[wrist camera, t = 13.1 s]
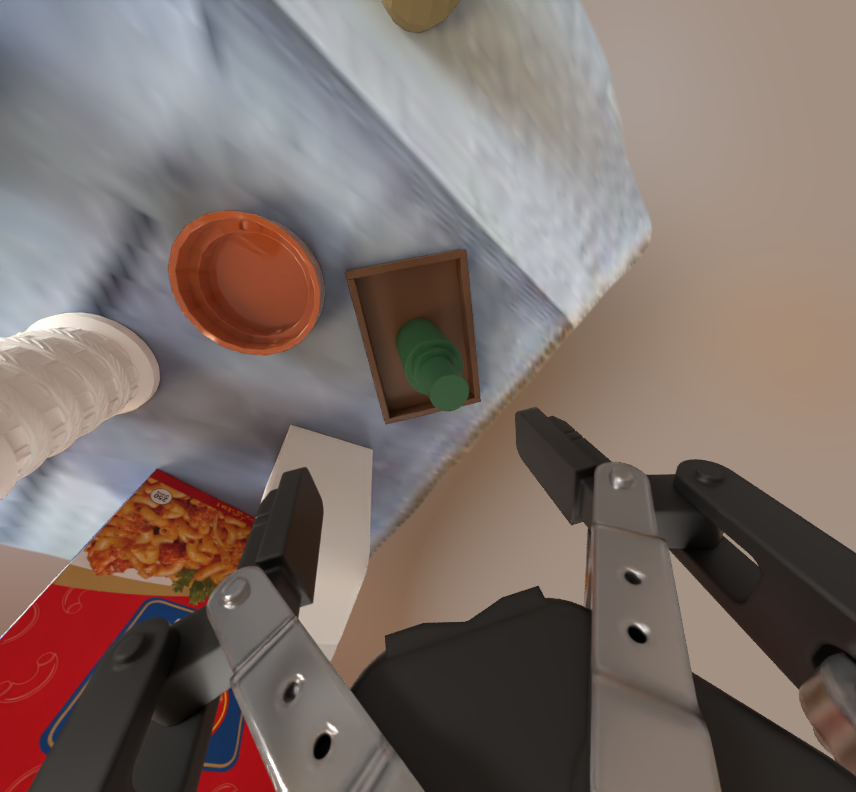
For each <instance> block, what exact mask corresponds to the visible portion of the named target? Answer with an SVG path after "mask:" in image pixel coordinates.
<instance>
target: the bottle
mask: <svg viewBox="0 0 856 792" xmlns="http://www.w3.org/2000/svg"><path fill="white" fill-rule="evenodd" d="M396 348H397V351H398V354H399V357H400V360H401V363H402V366H403V369H404V372H405V374H406V377H407V380H408V382H409V384H410V385H411V386H412V387H413V388H414V389H415V390H416V391H418V392H420V393H422V394H426V395H429V398H430V400H431V402H432V404H433V405H434V406H435V407H436V408H437V409H439V410H442V411H453V410H456V409H458V408H459V407H461V406H462V405H463V404H464V403H465V402H466V400H467V398H468V395H469V386H468V383H467V382H466V380H465V379H464V378H463V376H462V372H463V358H462V355H461V353H460V351H459V350H458V349H457V347H456V346H455V345H454V344H453V343H452V342H451V341H450V340H449V339H448V338H447V337H446V336H445V335H444V334H443V332H442V331H441V330H440V329H439V328H438V327H437V326H436V325H435V324H434V323H433V322H431V321H429V320H427V319H422V318H417V319H412V320H410V321H408V322H406V323H405V324H404V325H403V326H402V327H401V328H400V329H399V331H398V333H397V336H396Z"/></svg>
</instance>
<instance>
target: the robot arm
mask: <svg viewBox="0 0 856 792" xmlns="http://www.w3.org/2000/svg"><path fill="white" fill-rule="evenodd" d="M515 425H516V445H517V450H518V453H519V455H520V457H521V459H522V460H523V462H524V463H525V464H526V466H527V467H528V468H529V469H530V471H531V472H532V474H533V475H534V476H535V478H536V479H537V480H538V482H539V483H540V484H541V486H542V487H543V488H544V490H545V491H546V492H547V494H548V495H549V496H550V498H551V499H552V500H553V502H554V503H555V504H556V506H557V507H558V508H559V510H560V511H561V512H562V514H563V515H564V516H565V518H566V519H567V520H568V521H569V523H570V524H571V525H574V524H577V523H580V522H584V523H585V525H586V526H587V527H588V533H587V552H586V553H587V554H586V574H585V592H584V605H583V606H582V605H579V604H576V603H573V602H570V601H566V600H561V599H554V598H545V597H544V596H543V594H542V592H541V590H540V588H539V586H536V587H533V588H530V589H527V590H524V591H521V592H518V593H515V594H512V595H509V596H506V597H502V598H501V599H499V600H498V601H496V602H495V603H494V604H492V605H491V606H489V607H488V608H487V609H485V610H483V611H482V612H481V613H479V614H478V615H476V616H475V617H473V618H472V619H470V620H469V621H466V622H442V623H422V624H419V625H416V626H413V627H410V628H407V629H404V630H401V631H398V632H395V633H392V634H389V635H385V643H386V650H385V651H384V652H383V653H381V654H380V655H379V656H377V657H376V658H375V659H374V660H373V661H372V662H371V663H370V664H369V665H368V666H367V667H366V668H365V669H364V670H363V671H362V673H361V674H360V675H359V677H358V678H357V679H356V681H355V682H354V684H353V685H352V687H351V689H349V688H348V686H347V685H346V683H345V682H344V681H343V679H342V678H341V677H340V675H339V674H338V673H337V671H336V670H335V668H334V667H333V666H332V664H331V663H330V661H329V660H328V659H327V657H326V656H325V655H324V653H323V652H322V650H321V649H320V648H319V646H318V645H317V644H316V642H315V641H314V639H313V638H312V637H311V635H310V634H309V633H308V631H307V630H306V629H305V627H304V626H303V624H302V623H301V622H300V620H299V619H298V617H299V611H300V607H303V606H306V605H310V604H313V600H314V592H315V583H316V575H317V566H318V558H319V549H320V541H321V532H322V524H323V515H324V508H323V502H322V498H321V496H320V494H319V491H318V489H317V487H316V485H315V483H314V481H313V478H312V476H311V474H310V472H309V470H308V468H307V467H302V468H298V469H295V470H291V471H287V472H284V473H283V474H282V477H281V480H280V483H279V486H278V489H274V490H271V491H270V492H269V493H268V495H267V496H266V497H265V498H264V500H263V501H262V502H261V504H260V506H259V509H258V512H257V515H256V518H255V520H254V523H253V526H252V527H253V529H251V531H250V534H249V537H248V540H247V542H246V545H245V548H244V551H243V554H242V556H241V559H240V562H239V565H238V567H237V570H236V571H235V572H233V573H231V574H230V575H229V576H227V577H226V578H225V579H224V580H223V581H222V582H221V583H220V584H219V585H218V586H217V587H216V588H215V589H214V591H213V592H212V594H211V596H210V598H209V600H208V603H207V604H206V605H205V606H203V607H201V608H200V609H198V610H196V611H194V612H193V613H191V614H189V615H187V616H186V617H184V618H182V619H180V620H179V621H177V622H175V623H173V624H172V625H171V624H170V623H169V622H168V621H167V620H166V619H165V618H163V617H153V618H149V619H147V620H144V621H142V622H140V623H138V624H137V625H135V626H134V627H132V628H131V629H129V630H128V631H127V632H125V633H124V634H123V635H122V636H121V637H120V638H119V639H118V640H117V641H116V642H115V643H114V644H113V645H112V646H111V647H110V648H109V649H108V651H107V652H106V653H105V655H104V656H103V657H102V659H101V661H100V662H99V664H98V666H97V668H96V669H95V671H94V673H93V675H92V677H91V678H90V680H89V682H88V684H87V685H86V687H85V689H84V691H83V693H82V694H81V696H80V698H79V700H78V702H77V703H76V705H75V707H74V709H73V710H72V712H71V714H70V716H69V718H68V719H67V721H66V723H65V725H64V726H63V728H62V730H61V732H60V734H59V735H58V737H57V739H56V741H55V743H54V744H53V746H52V748H51V750H50V751H49V753H48V755H47V757H46V759H45V760H44V762H43V764H42V766H41V768H40V769H39V771H38V773H37V775H36V776H35V778H34V780H33V782H32V784H31V785H30V787H29V789H28V791H27V792H197V789H198V785H199V781H200V777H201V773H202V769H203V765H204V761H205V757H206V753H207V749H208V745H209V741H210V737H211V733H212V729H213V725H214V721H215V717H216V713H217V709H218V705H219V701H220V697H221V694H222V693H224V692H225V691H227V690H228V689H229V688H232V690H233V693H234V695H235V697H236V700H237V702H238V704H239V707H240V709H241V711H242V714H243V716H244V718H245V721H246V723H247V725H248V728H249V730H250V732H251V735H252V737H253V739H254V742H255V744H256V746H257V749H258V751H259V753H260V756H261V758H262V760H263V763H264V765H265V767H266V770H267V772H268V774H269V777H270V779H271V781H272V783H273V786H274V788H275V790H276V792H856V553H855V552H853V551H852V550H850V549H849V548H847V547H846V546H844V545H843V544H841V543H840V542H838V541H837V540H835V539H834V538H832V537H831V536H829V535H828V534H826V533H825V532H823V531H822V530H820V529H819V528H817V527H815V526H814V525H813V524H811V523H810V522H808V521H807V520H805V519H804V518H802V517H801V516H799V515H798V514H796V513H795V512H793V511H792V510H790V509H789V508H787V507H786V506H784V505H783V504H781V503H780V502H778V501H777V500H775V499H774V498H772V497H771V496H769V495H768V494H766V493H765V492H763V491H762V490H760V489H759V488H757V487H755V486H754V485H753V484H751V483H749V482H748V481H747V480H745V479H744V478H742V477H741V476H739V475H738V474H736V473H735V472H733V471H731V470H730V469H728V468H726V467H724V466H722V465H720V464H717V463H714V462H710V461H706V460H696V459H695V460H686V461H683V462H682V463H680V464H679V465H678V467H677V470H676V474H671V475H670V474H669V475H645V474H644V473H643V472H642V471H641V470H639V469H638V468H636V467H634V466H632V465H629V464H625V463H621V462H611V461H610V460H609V459H608V458H606V457H605V456H604V455H603V454H602V453H601V452H600V451H599V450H597V449H596V448H595V447H594V446H593V445H592V444H591V443H589V442H588V441H587V440H586V439H585V438H583V437H582V436H581V435H580V434H579V433H578V432H577V431H575V429H573V428H572V427H571V426H570V425H569V424H568V423H567V422H565V421H563V420H561V419H558V418H556V417H554V416H550V417H547V416H546V415H545V414H544V413H542V412H541V411H540V410H539V409H538V408H537V407H534V408H530V409H526V410H522V411H519V412H516V415H515ZM723 533H726V534H727V535H728V536H729V537H730V538H731V539H733V540H734V541H735V542H736V543H737V544H738V545H740V546H741V547H742V548H743V549H744V550H745V551H747V552H748V553H749V554H750V555H751V556H752V557H753V558H754V560H755V561H756V562H757V564H758V566H759V567H758V566H757V565H756V564H755V563H754V562H753V561H751V560H750V559H749V558H748V557H747V556H746V555H745V554H743V553H742V552H741V551H740V550H739V549H737V548H736V547H735V546H734V545H733V544H732V543H731V542H729V541H728V540H727V539H726V538H725V537H724V536H723ZM669 550H670V551H671V552H672V553H673V554H674V555H675V557H676V558H677V559H678V560H679V561H680V562H681V563H682V564H683V565H684V566H685V567H686V568H687V569H688V570H689V572H690V573H691V574H692V575H693V576H694V577H695V578H696V579H697V580H698V581H699V582H700V583H701V585H702V586H703V587H704V588H705V589H706V590H707V591H708V592H709V593H710V594H711V595H712V596H713V598H714V599H715V600H716V601H717V602H718V603H719V604H720V605H721V606H722V607H723V608H724V609H725V611H726V612H727V613H728V614H729V615H730V616H731V617H732V618H733V619H734V620H735V621H736V622H737V623H738V625H740V627H741V628H742V629H743V630H744V631H745V632H746V633H747V634H748V635H749V636H750V637H751V639H753V641H754V642H755V643H756V644H757V645H758V646H759V647H760V648H761V649H762V650H763V651H764V653H765V654H766V655H767V656H768V657H769V658H770V659H771V660H772V661H773V662H774V663H775V664H776V665H777V667H778V668H779V669H780V670H781V671H782V672H783V673H784V674H785V675H786V676H787V677H788V679H789V680H790V681H791V682H792V683H793V684H794V685H795V686H796V687H797V688H798V689H799V699H800V703H801V706H802V709H803V711H804V713H805V715H806V717H807V718H808V720H809V721H810V723H811V725H812V726H813V731H814V734H815V736H816V738H817V739H818V741H819V742H820V744H821V745H822V746H823V747H824V748H825V749H826V750H827V751H828V752H829V753H830V754H831V755H833V757H834V759H835V761H834V760H833V759H832V758H830V757H829V756H827V755H825V754H824V753H822V752H821V751H819V750H817V749H816V748H814V747H813V746H811V745H809V744H808V743H806V742H805V741H803V740H801V739H800V738H798V737H796V736H795V735H793V734H792V733H790V732H788V731H787V730H785V729H783V728H782V727H780V726H779V725H777V724H775V723H774V722H772V721H771V720H769V719H767V718H766V717H764V716H762V715H761V714H759V713H758V712H756V711H754V710H753V709H751V708H750V707H748V706H746V705H745V704H743V703H741V702H740V701H738V700H737V699H735V698H733V697H732V696H730V695H728V694H727V693H725V692H723V691H722V690H720V689H719V688H717V687H716V686H714V685H712V684H711V683H709V682H707V681H706V680H704V679H702V678H701V677H699V676H698V675H696V674H694V673H693V672H692V671H691V666H690V661H689V655H688V650H687V645H686V639H685V634H684V629H683V623H682V618H681V612H680V607H679V602H678V596H677V591H676V585H675V580H674V575H673V569H672V564H671V559H670V553H669Z"/></svg>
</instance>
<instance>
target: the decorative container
mask: <svg viewBox="0 0 856 792" xmlns="http://www.w3.org/2000/svg"><path fill="white" fill-rule="evenodd" d="M159 382H160V370H159V365H158V363H157V361H156V358H155V356H154V354H153V353H152V351H151V350H150V348H149V347H148V346H147V344H146V343H145V342H144V341H143V340H142V339H141V338H139V337H138V336H137V335H136V334H135V333H134V332H133V331H131V330H129V329H128V328H126V327H124V326H123V325H121V324H119V323H118V322H115V321H113V320H110V319H108V318H105V317H102V316H99V315H94V314H88V313H83V312H80V313H63V314H59V315H54V316H51V317H48V318H44V319H41V320H39V321H37V322H36V323H35V324H33V325H32V326H30V327H29V328H28V329H27V330H26V331H25V332H24V333H17V335H14V336H11V337H9V338H0V500H1V499H3V498H4V497H6V496H7V495H8V494H9V492H10V491H11V490H12V488H13V487H14V485H15V484H16V482H17V480H18V479H21V478H23V477H25V476H27V475H29V474H31V473H32V472H33V471H34V470H36V469H37V468H38V467H39V466H40V465H41V464H42V463H43V462H44V461H45V459H46V458H49V457H52V456H54V455H56V454H59V453H60V452H62V451H64V450H65V449H67V448H68V447H69V446H71V445H72V444H73V443H74V442H75V440H76V439H77V438H79V437H82V436H84V435H86V434H88V433H90V432H92V431H93V430H94V429H96V428H97V427H98V426H99V425H100V424H101V423H102V421H105V420H108V419H110V418H112V417H114V416H115V415H116V414H123V413H126V412H130V411H133V410H135V409H136V408H138V407H139V406H141V405H142V404H144V403H145V402H147V401H148V400H149V399H151V398H152V396H153V395H154V394H155V392H156V391H157V389H158V385H159Z"/></svg>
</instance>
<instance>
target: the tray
mask: <svg viewBox="0 0 856 792" xmlns="http://www.w3.org/2000/svg"><path fill="white" fill-rule="evenodd" d="M345 275H346V278H347V282H348V286H349V290H350V293H351V297H352V301H353V305H354V308H355V312H356V316H357V320H358V323H359V327H360V331H361V335H362V338H363V342H364V346H365V350H366V353H367V357H368V361H369V365H370V368H371V372H372V376H373V380H374V383H375V387H376V391H377V395H378V398H379V402H380V406H381V410H382V413H383V417H384V421H385V424H390V423H394V422H398V421H402V420H407V419H411V418H415V417H419V416H423V415H427V414H432V413H436V412H440V411H442V410H439V409H437V408H436V407H435V406H434V405H433V404H432V402H431V400H430V398H429V395H426V394H422V393H420V392H418V391H416V390H415V389H414V388H413V387H412V386H411V385H410V384H409V382H408V380H407V377H406V374H405V372H404V369H403V366H402V363H401V360H400V357H399V354H398V351H397V348H396V336H397V333H398V331H399V329H400V328H401V327H402V326H403V325H404V324H405V323H406V322H408V321H410V320H412V319H417V318H422V319H427V320H429V321H431V322H433V323H434V324H435V325H436V326H437V327H438V328H439V329H440V330H441V331H442V332H443V334H444V335H445V336H446V337H447V338H448V339H449V340H450V341H451V342H452V343H453V344H454V345H455V346H456V347H457V349H458V350H459V351H460V353H461V355H462V358H463V372H462V376H463V378H464V379H465V380H466V382H467V383H468V386H469V395H468V398H467V400H466V402H465V403H464V404H463V405H462V406H465V405H469V404H473V403H477V402H481V399H480V388H479V378H478V367H477V357H476V346H475V336H474V325H473V315H472V304H471V294H470V283H469V273H468V262H467V252H466V249H457V250H451V251H446V252H441V253H436V254H430V255H425V256H420V257H414V258H409V259H404V260H399V261H393V262H388V263H383V264H377V265H372V266H367V267H362V268H356V269H351V270H346V272H345Z"/></svg>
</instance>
